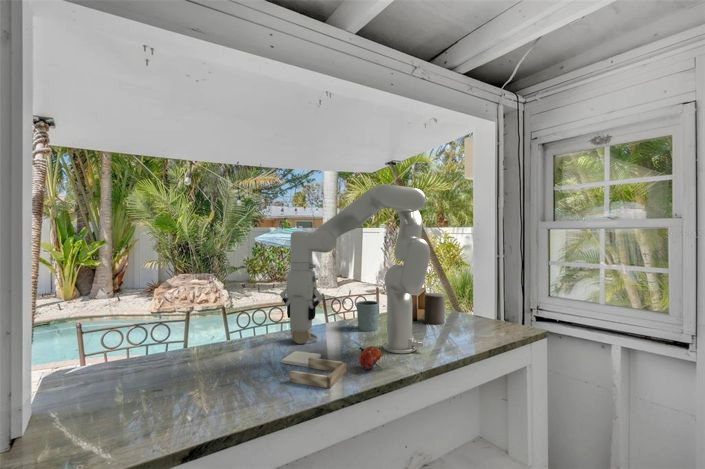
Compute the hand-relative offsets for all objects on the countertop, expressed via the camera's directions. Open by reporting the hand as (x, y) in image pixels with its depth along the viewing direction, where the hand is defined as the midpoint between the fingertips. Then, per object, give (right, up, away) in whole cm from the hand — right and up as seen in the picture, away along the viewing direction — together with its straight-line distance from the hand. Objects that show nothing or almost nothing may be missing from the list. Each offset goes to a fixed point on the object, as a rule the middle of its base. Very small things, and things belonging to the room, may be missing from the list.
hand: (301, 317), depth 128 cm
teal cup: (+25, -14, +40) cm, 49 cm away
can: (0, -4, 0) cm, 4 cm away
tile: (0, -15, 0) cm, 15 cm away
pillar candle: (+58, -14, +52) cm, 79 cm away
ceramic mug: (-2, -15, +21) cm, 26 cm away
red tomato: (+24, -15, -8) cm, 29 cm away
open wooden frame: (+8, -15, -14) cm, 22 cm away
